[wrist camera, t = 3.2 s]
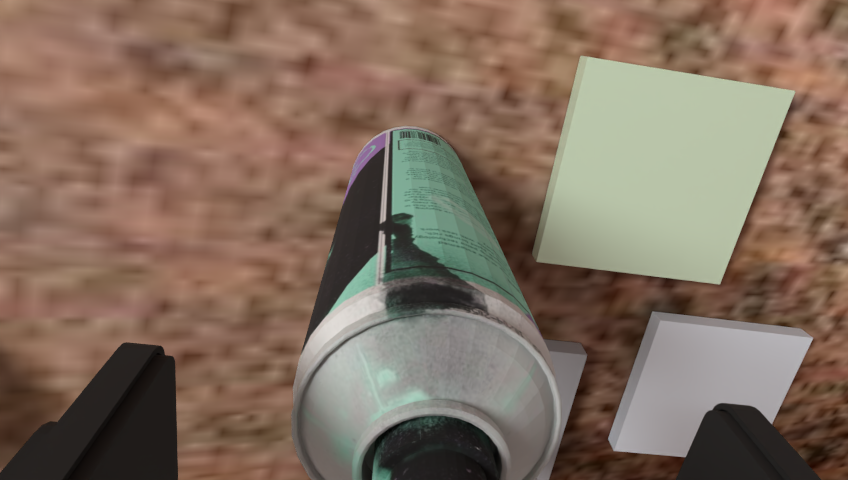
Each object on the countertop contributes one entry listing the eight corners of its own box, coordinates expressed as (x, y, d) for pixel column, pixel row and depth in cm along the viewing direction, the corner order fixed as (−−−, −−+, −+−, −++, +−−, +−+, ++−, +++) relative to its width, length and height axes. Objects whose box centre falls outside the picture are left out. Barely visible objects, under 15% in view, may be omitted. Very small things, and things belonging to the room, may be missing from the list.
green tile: (709, 276, 30) (719, 284, 29) (531, 254, 29) (536, 261, 28) (781, 88, 26) (795, 90, 25) (580, 55, 25) (587, 56, 24)
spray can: (332, 152, 26) (183, 474, 8) (438, 106, 26) (551, 333, 7) (380, 249, 28) (353, 689, 10) (479, 208, 28) (652, 592, 9)
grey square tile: (743, 451, 35) (753, 463, 34) (608, 439, 34) (614, 450, 33) (800, 328, 31) (813, 337, 30) (652, 311, 30) (660, 320, 29)
